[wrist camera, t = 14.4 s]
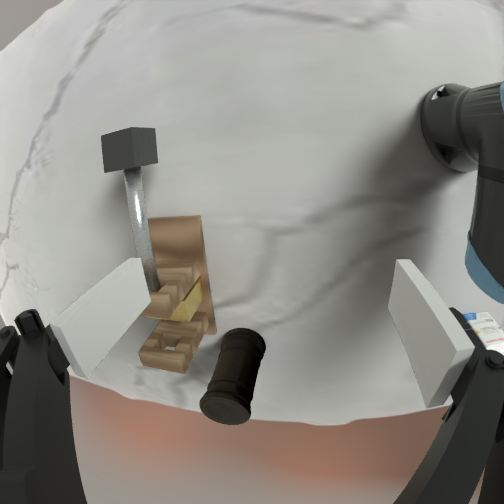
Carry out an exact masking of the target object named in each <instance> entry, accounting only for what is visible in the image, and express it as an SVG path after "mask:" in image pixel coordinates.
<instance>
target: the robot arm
mask: <svg viewBox="0 0 504 504" xmlns="http://www.w3.org/2000/svg"><path fill="white" fill-rule="evenodd" d="M421 125H422V131H423V134H424V138H425V140H426V143H427V145H428V147H429V148H430V150H431V152H432V153H433V155H434V156H435V157H436V158H437V159H438V160H439V161H440V162H441V163H442V164H443V165H445V166H446V167H448V168H450V169H453V170H457V171H461V172H472V171H475V170H478V176H477V185H476V194H475V201H474V208H473V214H472V220H471V226H470V230H469V232H468V236H467V237H468V244H467V249H466V255H465V265H466V268H467V271H468V274H469V275H470V277H471V279H472V280H473V281H474V283H475V284H476V285H477V286H478V287H479V288H480V289H481V290H482V291H483V292H484V293H486V294H487V295H488V296H490V297H491V298H492V299H494V300H496V301H497V302H499V303H501V304H504V81H503V82H499V83H494V84H489V85H485V86H481V87H476V88H473V89H471V88H468V87H465V86H461V85H457V84H444V85H441V86H438V87H436V88H434V89H433V90H431V91H430V92H429V93H428V95H427V96H426V98H425V100H424V102H423V105H422V110H421ZM150 302H151V299H150V295H149V291H148V287H147V283H146V279H145V275H144V271H143V266H142V262H141V258H129V259H127V260H126V261H125V262H123V263H122V264H121V265H120V266H118V267H117V268H116V269H114V270H113V271H112V272H111V273H109V274H108V275H107V276H105V277H104V278H103V279H102V280H100V281H99V282H98V283H97V284H95V285H94V286H93V287H92V288H91V289H89V290H88V291H87V292H86V293H84V294H83V295H82V296H81V297H80V298H78V299H77V300H76V301H75V302H74V303H72V304H71V305H70V306H69V307H68V308H67V309H65V310H64V311H63V312H62V313H61V314H60V315H59V316H57V317H56V318H55V319H54V320H53V321H52V322H51V323H50V324H49V325H48V326H47V327H46V328H45V327H44V325H43V323H42V320H41V318H40V316H39V313H38V311H37V310H35V309H30V310H26V311H24V312H22V313H21V314H19V315H18V316H17V317H16V318H15V320H14V321H15V323H16V325H17V327H18V329H19V331H20V333H21V335H18V333H17V331H16V329H15V327H14V326H5V327H3V328H2V329H1V330H0V504H87V501H86V498H85V494H84V490H83V486H82V482H81V477H80V473H79V468H78V463H77V457H76V451H75V444H74V437H73V429H72V419H71V405H70V382H69V372H68V371H67V369H66V368H67V367H68V366H69V365H70V366H71V367H72V369H73V371H74V373H75V374H76V375H78V376H81V377H83V378H86V379H88V377H89V376H90V375H91V374H92V372H93V371H94V370H95V368H96V367H97V366H98V365H99V363H100V362H101V361H102V360H103V358H104V357H105V356H106V355H107V354H108V352H109V351H110V350H111V349H112V347H113V346H114V345H115V344H116V343H117V341H118V340H119V339H120V338H121V336H122V335H123V334H124V333H125V332H126V330H127V329H128V328H129V327H130V326H131V325H132V323H133V322H134V321H135V320H136V319H137V317H138V316H139V315H140V314H141V313H142V312H143V310H144V309H145V308H146V307H147V306H148V305H149V303H150ZM388 310H389V312H390V315H391V317H392V319H393V321H394V324H395V326H396V328H397V330H398V333H399V335H400V338H401V340H402V342H403V345H404V347H405V350H406V352H407V355H408V357H409V360H410V363H411V365H412V368H413V371H414V373H415V376H416V379H417V382H418V384H419V387H420V390H421V393H422V396H423V399H424V402H425V405H426V408H430V407H434V406H439V405H443V404H444V403H445V401H446V400H447V398H448V397H449V395H450V394H451V396H452V399H453V403H452V404H451V406H450V407H449V409H448V410H447V412H446V413H445V415H444V416H443V417H442V420H444V421H443V423H442V425H441V427H440V429H439V431H438V433H437V435H436V437H435V440H434V441H433V443H432V445H431V447H430V448H429V450H428V452H427V454H426V455H425V457H424V459H423V461H422V462H421V464H420V466H419V467H418V469H417V470H416V472H415V474H414V475H413V477H412V478H411V480H410V481H409V483H408V484H407V486H406V487H405V489H404V490H403V491H402V493H401V494H400V495H399V497H398V498H397V499H396V501H395V502H394V503H393V504H468V503H469V501H470V499H471V497H472V495H473V493H474V491H475V489H476V487H477V484H478V482H479V480H480V477H481V475H482V472H483V470H484V467H485V472H484V477H483V483H482V487H481V492H480V496H479V500H478V504H504V356H503V355H502V354H501V353H500V352H498V351H495V350H491V349H490V350H487V349H486V347H485V346H484V344H483V343H482V341H481V340H480V338H479V337H478V336H477V334H476V333H475V331H474V330H473V329H472V327H471V326H470V324H469V323H467V322H468V321H467V320H466V319H465V317H464V316H463V315H462V314H461V313H460V312H459V311H457V310H456V309H455V308H448V307H447V305H446V304H445V303H444V301H443V300H442V299H441V297H440V296H439V295H438V293H437V292H436V291H435V290H434V288H433V287H432V286H431V284H430V283H429V282H428V281H427V279H426V278H425V277H424V276H423V274H422V273H421V272H420V271H419V270H418V268H417V267H416V266H415V265H414V264H413V262H412V261H411V260H410V259H396V264H395V271H394V277H393V283H392V288H391V293H390V299H389V303H388ZM7 362H9V364H10V366H11V367H12V369H13V374H12V375H11V373H10V372H9V370H8V369H7V367H6V364H7ZM485 465H486V466H485Z"/></svg>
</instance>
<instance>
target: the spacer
mask: <svg viewBox="0 0 504 504" xmlns="http://www.w3.org/2000/svg"><path fill="white" fill-rule="evenodd" d="M204 297H205V294H204V288H203V281H202V277H199V278H198V279H197V280H196V282H195V283H194V284H193V286H192V287H191V289H190V290H189V291H188V293H187V294H186V296H185V297H184V298H183V300H182V301H181V303H180V304H179V305H178V307H177V308H176V310H175V311H174V313H173V314H172V315H171V317H170V318H169V319H164V318H156V317H147V316H145V317H147V318H155V319H163V320H172V321H182V322H190V320H191V318H192V317H193V315H194V313H195V312H196V310H197V308H198V307H199V305H200V303H201V302H202V300H203V298H204Z"/></svg>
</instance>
